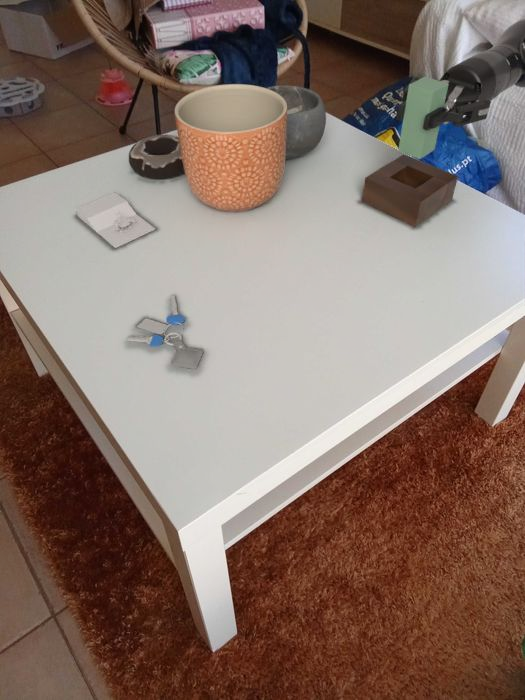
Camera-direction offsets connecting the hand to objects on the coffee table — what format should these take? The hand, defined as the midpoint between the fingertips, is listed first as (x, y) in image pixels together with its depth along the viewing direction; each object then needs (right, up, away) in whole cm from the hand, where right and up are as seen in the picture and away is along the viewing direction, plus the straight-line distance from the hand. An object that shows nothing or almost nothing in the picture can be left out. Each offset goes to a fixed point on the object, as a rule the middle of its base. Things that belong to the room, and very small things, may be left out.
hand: (412, 118), depth 82 cm
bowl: (-18, +3, +24) cm, 30 cm away
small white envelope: (-46, -13, +10) cm, 48 cm away
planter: (-26, -7, +14) cm, 31 cm away
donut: (-40, 0, +22) cm, 46 cm away
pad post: (+2, -3, +6) cm, 7 cm away
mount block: (+2, -9, +12) cm, 15 cm away
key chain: (-35, -32, -9) cm, 48 cm away
